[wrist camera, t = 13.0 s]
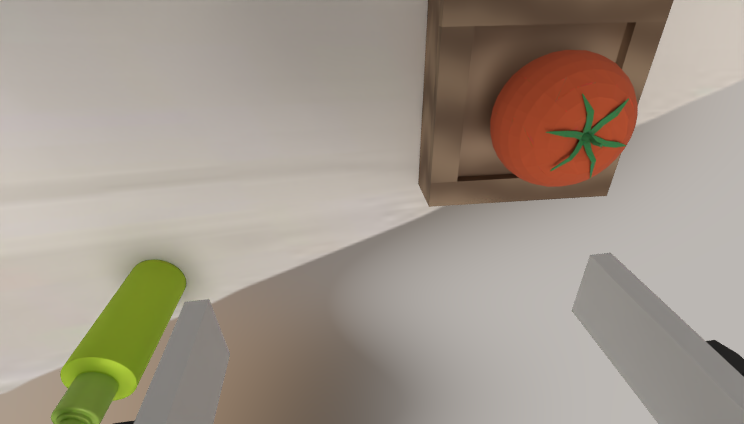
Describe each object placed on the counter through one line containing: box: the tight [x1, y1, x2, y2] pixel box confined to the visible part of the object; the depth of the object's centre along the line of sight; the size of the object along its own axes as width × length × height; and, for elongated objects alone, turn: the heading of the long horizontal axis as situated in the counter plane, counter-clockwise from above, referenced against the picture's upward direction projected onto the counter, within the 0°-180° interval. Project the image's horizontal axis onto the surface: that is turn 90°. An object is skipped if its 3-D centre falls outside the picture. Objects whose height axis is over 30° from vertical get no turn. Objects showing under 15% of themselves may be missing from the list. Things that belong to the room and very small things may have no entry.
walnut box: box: [418, 0, 673, 207], centre depth 34 cm, size 18×18×5 cm
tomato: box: [490, 50, 638, 187], centre depth 29 cm, size 10×10×10 cm
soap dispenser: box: [51, 260, 186, 424], centre depth 34 cm, size 6×7×20 cm
